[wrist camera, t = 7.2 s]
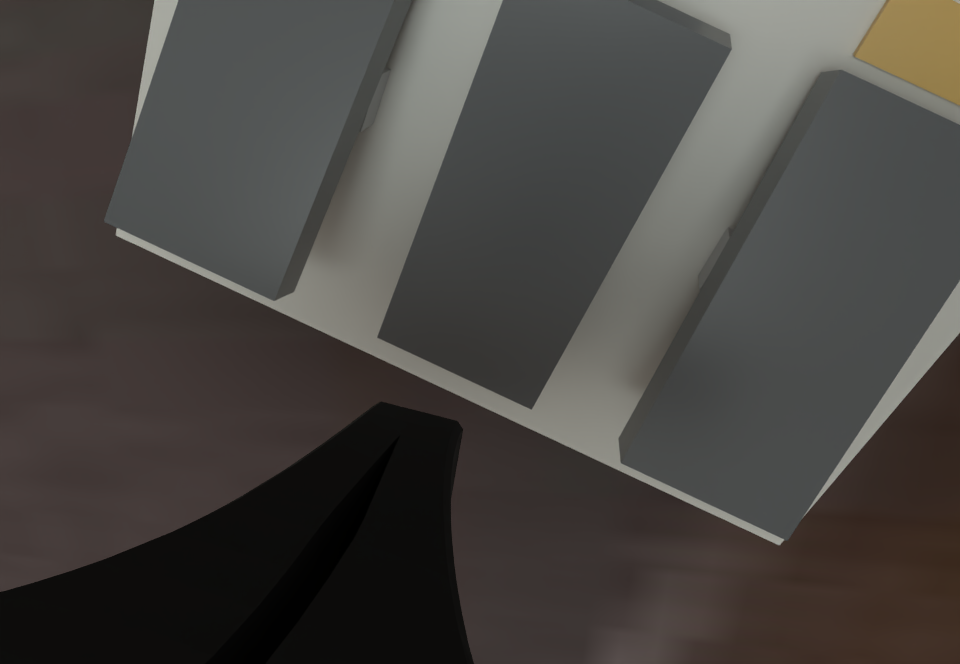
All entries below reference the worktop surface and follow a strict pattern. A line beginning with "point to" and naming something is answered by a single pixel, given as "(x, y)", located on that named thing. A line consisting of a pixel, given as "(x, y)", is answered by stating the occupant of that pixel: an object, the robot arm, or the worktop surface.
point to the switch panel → (658, 230)
